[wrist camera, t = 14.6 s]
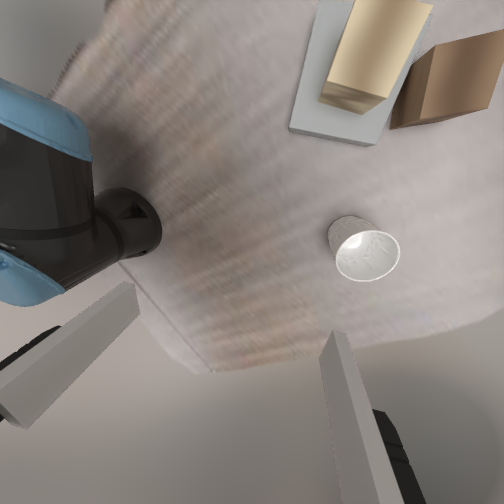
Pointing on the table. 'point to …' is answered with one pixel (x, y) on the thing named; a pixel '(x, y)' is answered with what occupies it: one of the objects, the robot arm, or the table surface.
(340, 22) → the grey block
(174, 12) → the table surface
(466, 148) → the table surface
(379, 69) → the maple block
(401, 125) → the walnut block
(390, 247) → the white cup
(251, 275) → the table surface
